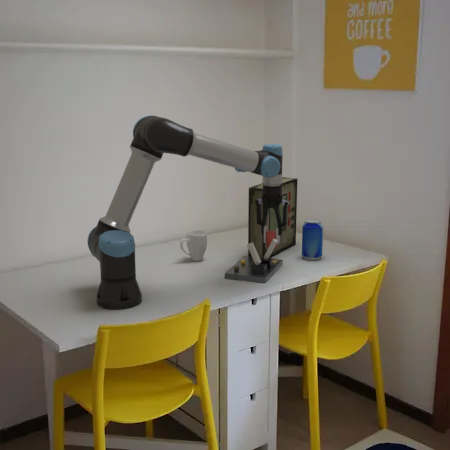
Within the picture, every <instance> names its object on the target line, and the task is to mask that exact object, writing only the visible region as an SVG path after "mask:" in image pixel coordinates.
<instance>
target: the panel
mask: <svg viewBox="0 0 450 450" xmlns="http://www.w3.org/2000/svg"><path fill="white" fill-rule="evenodd" d="M259 258H260V260H261V263H260V264H259V265H258V266H257V265H255V262H254V260H253V258H252V257H250V256H248V255H244V256H243V257H242V258H241V259H239V260H238V261H237V262H236V263H234V265H232V266H231V267H230V268H229V269H228V270H227V271H225V272H224V279H226V278H228V279H227V280H235V281H237V280H238V281H243V280H244V282H252V281H253V283H259V284H260V283H261V284H266V283H268V282H269V280H270V279H271V278H272V277H273V275H275V273H276V272H278V270H279V269H280V268H281V267H282V266H283V265H284V264H283V262H284V261H283V259H280V258H279V259H278V258H273V257H272V258H268V259H267V260H265V259H264V258H262V257H259Z"/></svg>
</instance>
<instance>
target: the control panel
mask: <svg viewBox="0 0 450 450" xmlns="http://www.w3.org/2000/svg"><path fill="white" fill-rule="evenodd" d="M263 185H264V184H263V182H262V183H258V184H256V185H252V186H250V187H248V209H247V210H248V217H247V218H248V220H247V221H248V227H247V228H248V229H247V230H248V231H247V232H248V234H247V235H248V236H247V237H248V238H247V239H248V241H247V245H248V244H249V243H252V242H253V244H254V246H255V248H256V251H257V253H258V255H259V257H262V258H264V256H265V254H266V252H267V250H268V247H266V243H264V234H262V233H261V225H259V224H257V206H256V203H255V200H257V199H261V198H262V196H263ZM280 185H282V198H283V200H285V201H289V205H288V213H287V225H286V226H285V227H282V235H281V236H280V242H279V243H278V244H277V247H276V248H274V249H273V251H272V253H271V255H270V257H269V258H273V257H276V256H277V255H279V254H281V253H283V252H285V251H287V250H289V249H290V248H292V247H294V246H296V243H297V242H296V241H297V211H298V210H297V209H298V207H297V206H298V203H297V202H298V178H297V177H296V178H295V177H285V176H282V184H280ZM279 208H280V214H281V219H282V223H283V203H281V204H280V205H279ZM264 209H265V204H264V203H263V201H262V204H261V221H262V219H263V215H264ZM266 225H268V231H276V228H277V227H278V224H277V219H276V214H275V211H274V209H273V208H270V209H269V212H268V217H267V221H266ZM266 225H265V226H266ZM247 256H250V257H252V255H251V253H250V251H249V248H248V247H247Z"/></svg>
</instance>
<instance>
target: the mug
mask: <svg viewBox="0 0 450 450" xmlns="http://www.w3.org/2000/svg"><path fill="white" fill-rule="evenodd" d="M184 241H186V247H187V251H188V252H187V251H186V250H185V249H184V247H183V243H184ZM207 245H208V233H207V231H204V230H191V231H188V232H187V233H186V238H182V239H181V240H180V243H179V246H180V249H181V250H182V252H183V253H185V254H186V255H187V256H190V259H191V261H194V262H201V261H202V260H203V258H204V256H205V252H206V250H207V247H208V246H207Z"/></svg>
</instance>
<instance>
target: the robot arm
mask: <svg viewBox="0 0 450 450" xmlns="http://www.w3.org/2000/svg"><path fill="white" fill-rule="evenodd" d="M132 136H133V139H132V141H131V143H130V145H129V148H130V151H131V154H130V157H129V159H128V162H127V163H126V166H125V169H124V171H123V173H122V176H121V178H120V180H119V183H118V185H117V188H116V191H115V192H114V196H113V198H112V200H111V202H110V203H109V207H108V210H107V212H106V215H105V216H103V217H100V218H99V220H98V222H97V224H96V226H95V227H94V228H92V229H91V230H90V231H89V234H88V236H87V241H86V242H87V247H88V250H89V251H90V254H91V255H92V256H93V257H94V258H95V259H96V260H97V261H99V267H100V269H99V270H100V283H99V286H98V288H97V289H98V290H97V292H96V304H97V306H98V307H101V308H103V309H107V310H108V309H109V310H123V309H124V310H125V309H129V308H133V307H136V306H138V305H139V304H141V303H142V302H143V297H142V296H143V294H142V291H141V289H140V286H139V283H138V280H137V274H136V267H137V266H136V242H135V237H134V236H133V235H132V233H131V229H130V226H129V224H130V223H131V220H132V218H133V214H134V213H135V210H136V208H137V206H138V203H139V201H140V199H141V197H142V194H143V191H144V189H145V187H146V185H147V182H148V180H149V178H150V175H151V173H152V170H153V168H154V165H155V163H157V162H159V161H161V160H162V157H163V155H164V154H170V155H177V156H180V157H188V156H192V157H195V158H199V159H201V160H206V161H210V162H212V163H216V164H220V165H223V166H227V167H231V168H234V169H235V171H236V172H237V173H246V172H247V173H251V174H255V175H258V176H262V183H263V184H264V185H263V196H262V198H261V199H257V200H255V203H256V206H257V224H259V225H261V233H262V234H264V243H266V232H267V231H268V225H266V221H267V217H268V212H269V209H270V208H273V209H274V211H275V214H276V219H277V224H278V227H277V228H276V240H278V241H277V243H276V244H278V243H279V242H280V236H281V235H282V227H285V226H286V225H287V213H288V205H289V201H285V200H283V198H282V185H280V184H282V177H283V158H284V155H283V147H282V145H281V144H277V143H266V144H263V146H262V149H260V150H251V149H248V148H245V147H241V146H238V145H235V144H231V143H229V142H224V141H222V140H218V139H215V138H212V137H209V136H205V135H201V134H199V133H196V132H195V131H194V129H193V128H189V127H186V126H184V125H181V124H179V123H177V122H175V121H173V120H171V119H168V118H165V117H162V116H157V115H147V116H144V117H143V116H142V117H141V118H139V119H138V120H137V121H136V123H135V124H134V126H133V129H132ZM262 201H263V203H264V204H265V209H264V215H263V219H262V221H261V204H262ZM281 203H283V223H282V219H281V214H280V208H279V205H280V204H281ZM265 225H266V226H265Z"/></svg>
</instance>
